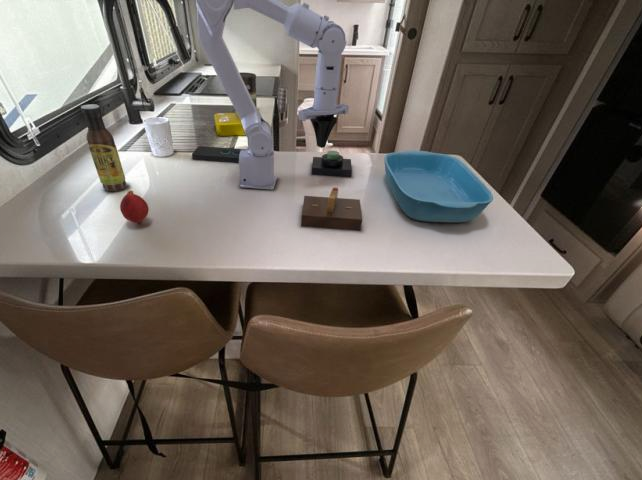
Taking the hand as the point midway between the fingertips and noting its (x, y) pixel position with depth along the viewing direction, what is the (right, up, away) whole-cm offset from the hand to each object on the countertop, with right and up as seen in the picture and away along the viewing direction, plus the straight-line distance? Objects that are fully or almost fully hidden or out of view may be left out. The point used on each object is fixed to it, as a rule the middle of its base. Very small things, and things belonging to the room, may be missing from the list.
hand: (321, 146), depth 89 cm
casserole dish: (+29, -14, +2) cm, 32 cm away
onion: (-44, -23, -11) cm, 51 cm away
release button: (+5, +2, +12) cm, 13 cm away
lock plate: (+2, -21, -7) cm, 22 cm away
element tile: (-30, +26, +41) cm, 57 cm away
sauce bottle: (-56, -11, +2) cm, 57 cm away
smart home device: (-30, +6, +20) cm, 36 cm away
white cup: (-51, +7, +21) cm, 55 cm away
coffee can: (-28, +44, +61) cm, 80 cm away
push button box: (+5, -1, +15) cm, 15 cm away
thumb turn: (+2, -19, -9) cm, 21 cm away
